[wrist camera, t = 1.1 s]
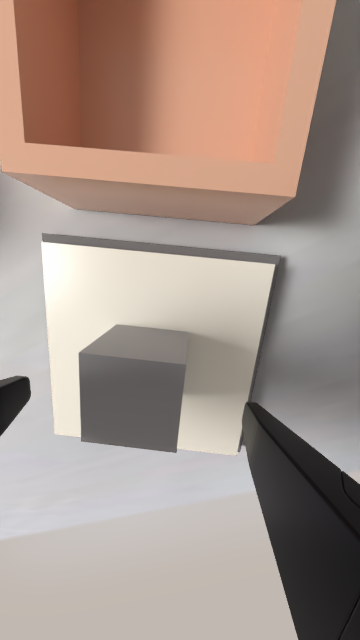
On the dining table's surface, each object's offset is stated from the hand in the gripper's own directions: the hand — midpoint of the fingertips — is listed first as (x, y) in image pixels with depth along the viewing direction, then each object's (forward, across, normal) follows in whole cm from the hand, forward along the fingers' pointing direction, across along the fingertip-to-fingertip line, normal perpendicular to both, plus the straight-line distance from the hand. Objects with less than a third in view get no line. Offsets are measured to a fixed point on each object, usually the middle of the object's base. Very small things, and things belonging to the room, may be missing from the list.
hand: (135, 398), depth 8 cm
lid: (+4, 0, 0) cm, 4 cm away
